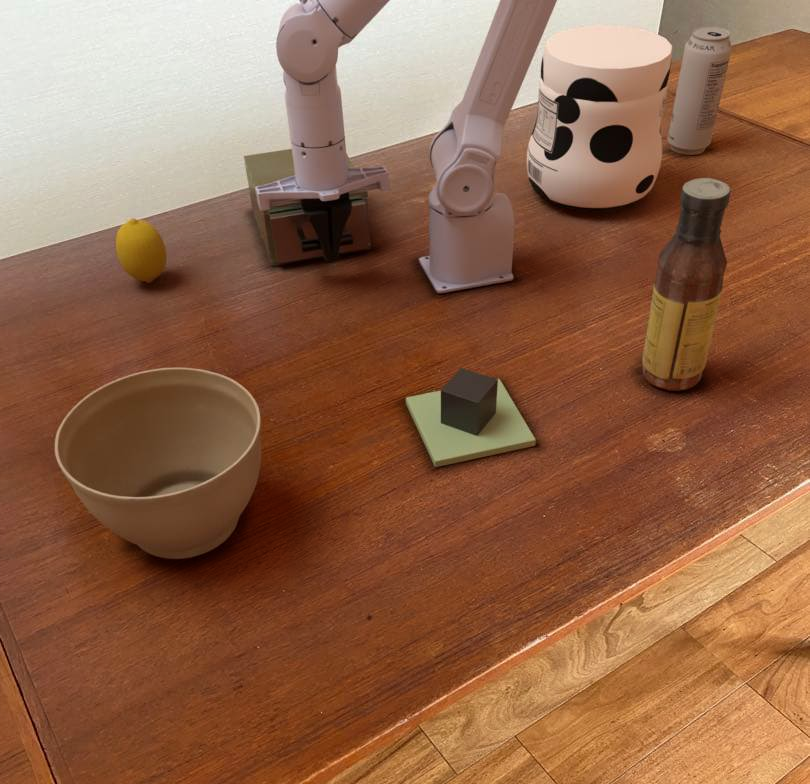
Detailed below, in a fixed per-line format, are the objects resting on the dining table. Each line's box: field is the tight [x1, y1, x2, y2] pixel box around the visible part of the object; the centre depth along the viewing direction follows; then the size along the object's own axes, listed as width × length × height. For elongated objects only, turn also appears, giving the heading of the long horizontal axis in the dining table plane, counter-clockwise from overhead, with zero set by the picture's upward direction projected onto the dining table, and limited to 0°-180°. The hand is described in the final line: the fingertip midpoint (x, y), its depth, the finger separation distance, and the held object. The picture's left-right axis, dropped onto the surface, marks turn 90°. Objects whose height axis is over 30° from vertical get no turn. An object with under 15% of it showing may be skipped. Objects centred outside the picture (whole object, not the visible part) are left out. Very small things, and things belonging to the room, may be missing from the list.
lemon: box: [115, 217, 167, 284], centre depth 101 cm, size 6×6×8 cm
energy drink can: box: [667, 26, 733, 156], centre depth 120 cm, size 6×6×15 cm
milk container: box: [526, 24, 673, 212], centre depth 110 cm, size 17×17×18 cm
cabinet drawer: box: [269, 199, 368, 264], centre depth 107 cm, size 18×11×6 cm, turn 16°
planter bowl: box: [54, 367, 262, 560], centre depth 73 cm, size 16×16×11 cm
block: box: [440, 367, 498, 436], centre depth 83 cm, size 4×4×4 cm
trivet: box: [405, 378, 537, 468], centre depth 84 cm, size 10×10×1 cm
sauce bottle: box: [641, 177, 731, 392], centre depth 82 cm, size 6×6×20 cm
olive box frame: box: [243, 148, 372, 267], centre depth 109 cm, size 15×13×8 cm
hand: (330, 258), depth 100 cm, fingers closed, pressing on cabinet drawer
